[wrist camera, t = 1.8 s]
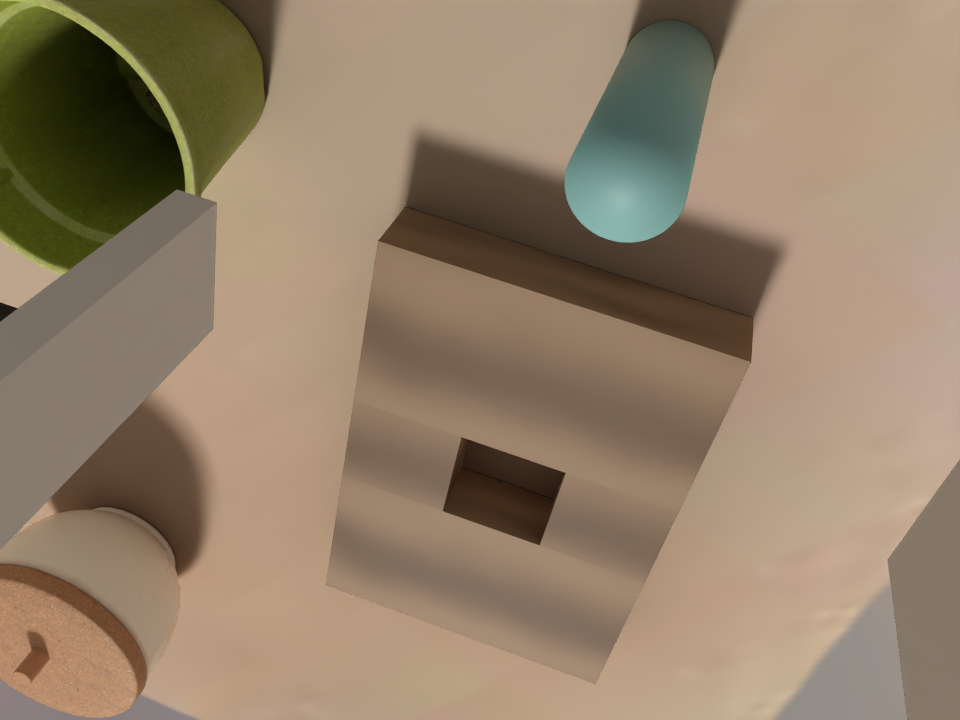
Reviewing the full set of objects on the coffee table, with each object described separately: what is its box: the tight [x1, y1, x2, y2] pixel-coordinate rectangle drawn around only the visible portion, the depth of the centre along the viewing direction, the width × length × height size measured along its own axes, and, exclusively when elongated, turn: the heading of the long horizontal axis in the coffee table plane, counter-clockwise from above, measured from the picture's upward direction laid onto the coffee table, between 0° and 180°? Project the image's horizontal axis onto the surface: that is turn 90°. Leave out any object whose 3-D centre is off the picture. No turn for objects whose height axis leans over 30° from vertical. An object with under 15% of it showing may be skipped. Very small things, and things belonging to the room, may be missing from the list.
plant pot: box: [0, 0, 265, 275], centre depth 31 cm, size 9×9×9 cm
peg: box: [564, 20, 714, 243], centre depth 26 cm, size 3×3×10 cm
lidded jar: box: [0, 507, 180, 718], centre depth 50 cm, size 11×11×9 cm
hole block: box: [326, 207, 754, 684], centre depth 40 cm, size 20×14×3 cm
